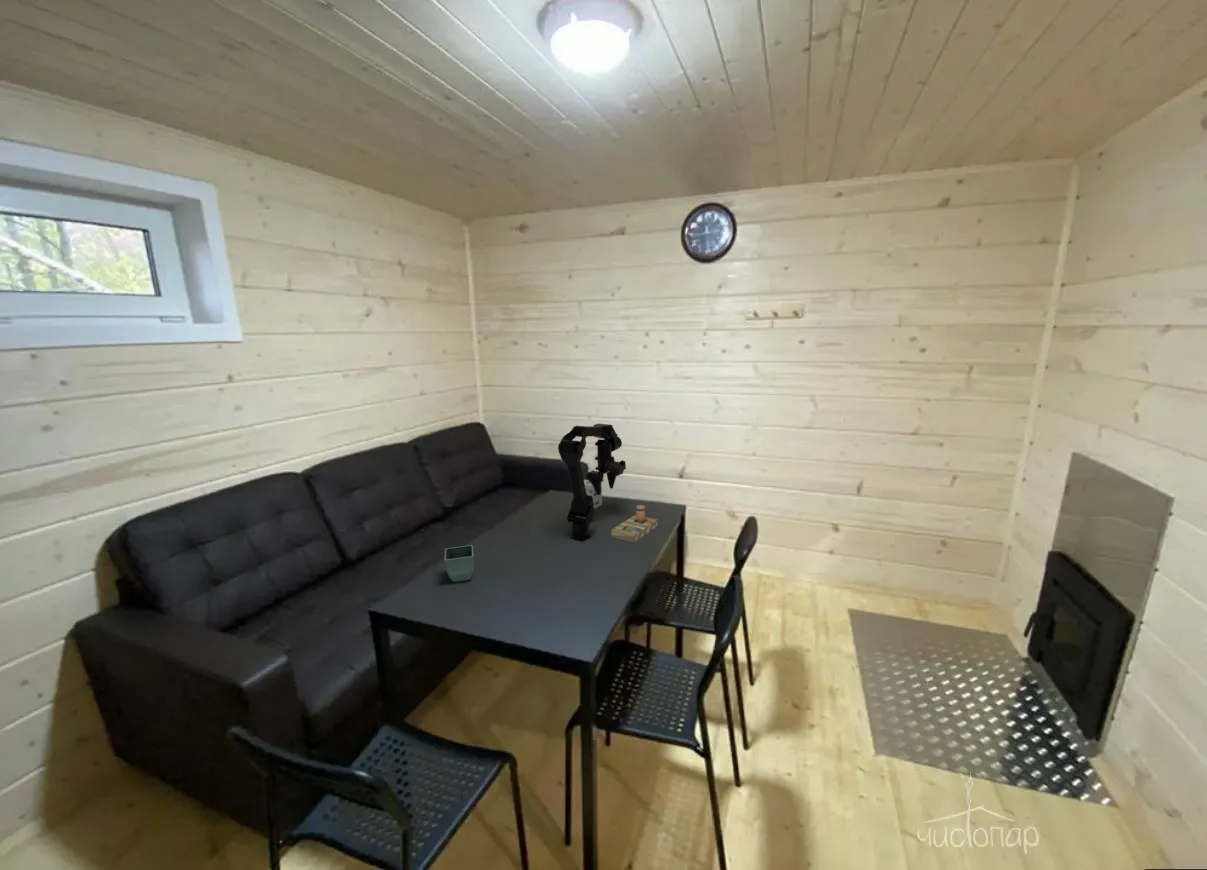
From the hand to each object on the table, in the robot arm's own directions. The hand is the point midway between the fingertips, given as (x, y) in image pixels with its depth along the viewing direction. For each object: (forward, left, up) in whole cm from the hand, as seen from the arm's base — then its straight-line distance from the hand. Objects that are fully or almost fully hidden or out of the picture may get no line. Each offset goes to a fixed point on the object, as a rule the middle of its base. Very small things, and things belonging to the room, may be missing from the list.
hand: (605, 491), depth 208 cm
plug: (0, -17, -12) cm, 21 cm away
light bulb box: (+10, +16, -12) cm, 23 cm away
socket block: (-5, -17, -12) cm, 21 cm away
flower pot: (-66, +12, -12) cm, 68 cm away
